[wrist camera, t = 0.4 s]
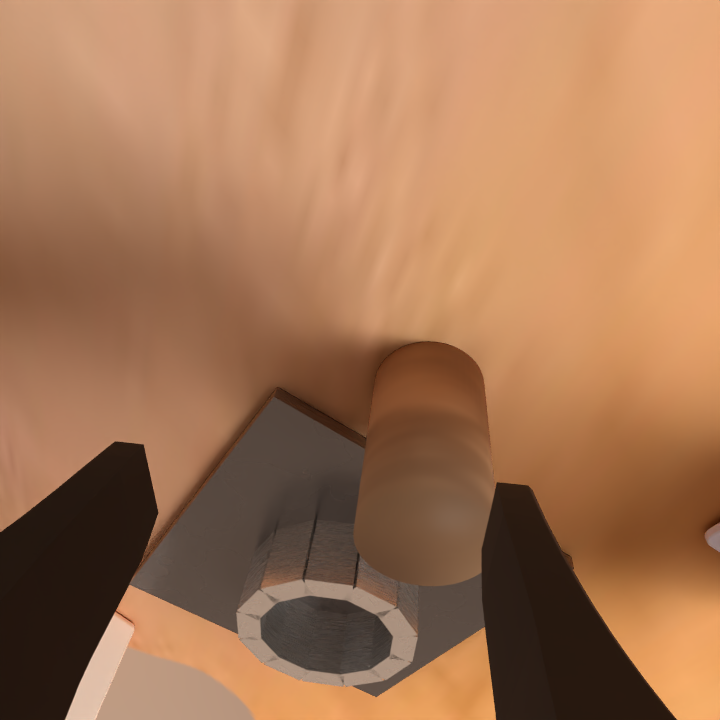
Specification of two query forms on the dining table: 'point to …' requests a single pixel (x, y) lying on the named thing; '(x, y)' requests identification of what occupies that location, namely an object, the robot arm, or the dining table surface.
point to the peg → (426, 468)
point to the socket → (302, 560)
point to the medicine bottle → (101, 670)
